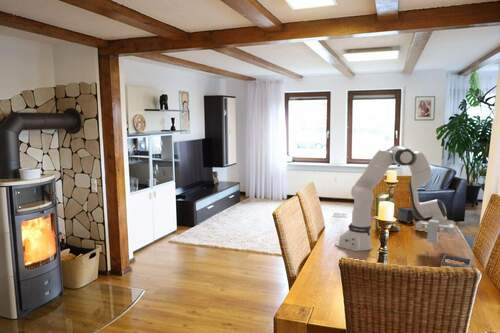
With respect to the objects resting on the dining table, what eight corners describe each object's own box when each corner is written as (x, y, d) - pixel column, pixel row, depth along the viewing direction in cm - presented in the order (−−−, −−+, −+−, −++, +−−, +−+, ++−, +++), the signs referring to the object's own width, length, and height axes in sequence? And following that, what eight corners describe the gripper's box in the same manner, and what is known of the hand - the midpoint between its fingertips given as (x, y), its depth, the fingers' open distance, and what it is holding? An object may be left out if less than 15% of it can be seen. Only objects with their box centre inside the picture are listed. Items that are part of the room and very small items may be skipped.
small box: (413, 222, 303) (414, 209, 302) (407, 223, 301) (407, 210, 299) (403, 219, 313) (404, 206, 312) (397, 220, 310) (397, 207, 309)
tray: (440, 268, 210) (440, 261, 210) (443, 260, 222) (444, 254, 221) (470, 273, 203) (470, 267, 202) (472, 265, 214) (472, 259, 214)
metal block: (427, 242, 223) (428, 221, 222) (428, 239, 227) (429, 219, 226) (436, 243, 221) (438, 222, 219) (438, 241, 225) (439, 220, 223)
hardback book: (385, 230, 282) (386, 197, 279) (375, 229, 286) (376, 196, 283) (392, 225, 297) (393, 193, 294) (382, 223, 301) (383, 192, 298)
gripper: (418, 216, 239) (413, 221, 228) (456, 222, 228) (453, 227, 216) (417, 227, 240) (413, 232, 228) (455, 232, 229) (452, 238, 217)
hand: (433, 230), depth 222 cm, fingers closed on metal block, 5 cm apart
